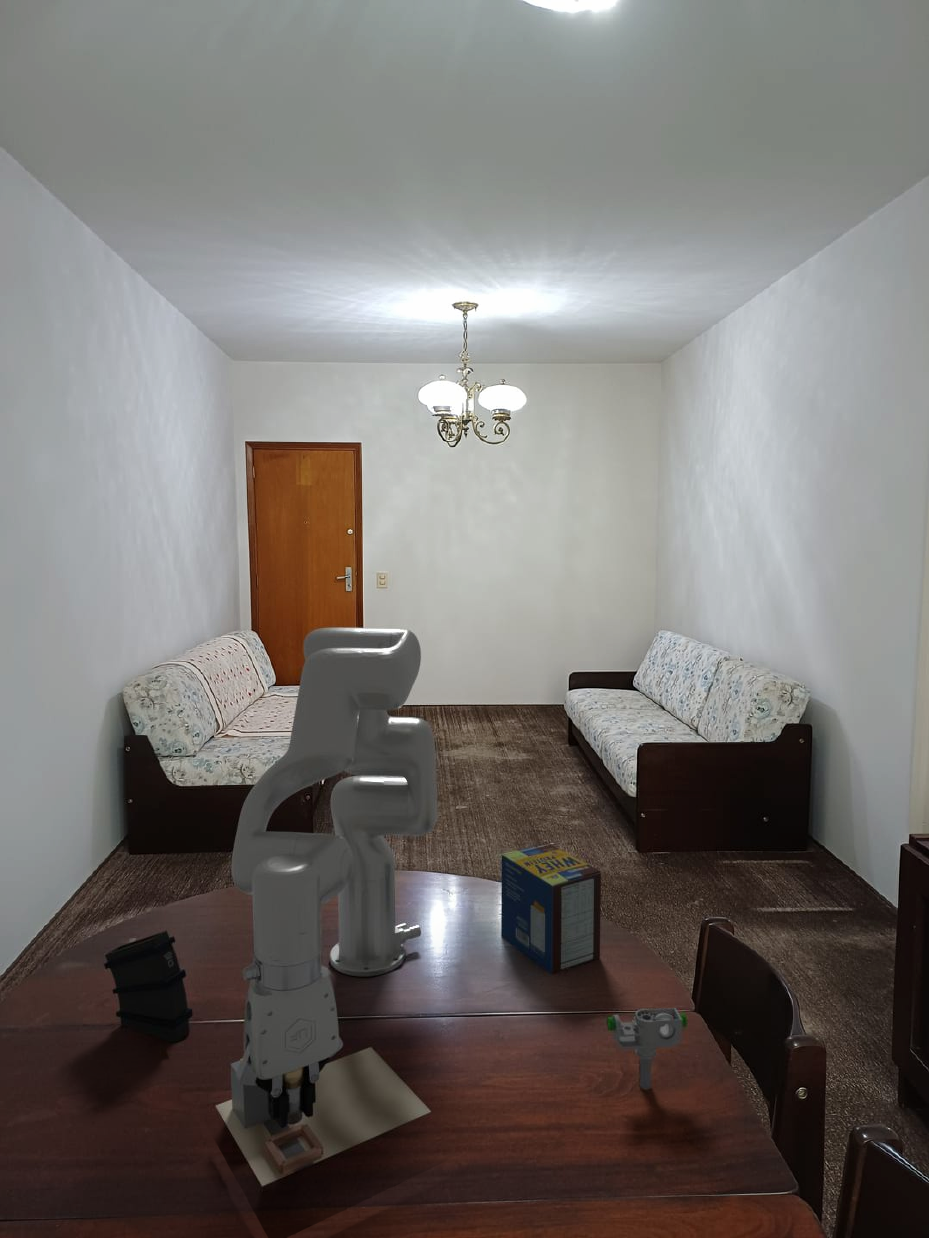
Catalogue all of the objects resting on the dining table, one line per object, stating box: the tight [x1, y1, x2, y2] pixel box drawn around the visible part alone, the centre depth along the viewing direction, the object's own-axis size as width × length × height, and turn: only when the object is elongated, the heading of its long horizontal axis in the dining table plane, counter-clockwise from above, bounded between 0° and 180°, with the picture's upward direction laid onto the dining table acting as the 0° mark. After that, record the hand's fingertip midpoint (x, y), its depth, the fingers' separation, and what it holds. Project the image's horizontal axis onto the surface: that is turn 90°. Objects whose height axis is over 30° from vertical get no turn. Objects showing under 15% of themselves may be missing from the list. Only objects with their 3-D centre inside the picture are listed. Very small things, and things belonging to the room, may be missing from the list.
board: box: [215, 1046, 432, 1187], centre depth 112 cm, size 22×16×2 cm
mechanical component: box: [606, 1007, 688, 1091], centre depth 117 cm, size 3×10×10 cm, turn 95°
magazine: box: [103, 930, 193, 1044], centre depth 130 cm, size 4×13×15 cm, turn 64°
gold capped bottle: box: [282, 1067, 304, 1125], centre depth 103 cm, size 3×3×7 cm
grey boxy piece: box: [230, 1058, 271, 1129], centre depth 111 cm, size 7×4×7 cm, turn 123°
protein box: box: [500, 842, 602, 975], centre depth 154 cm, size 10×15×16 cm
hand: (292, 1114), depth 103 cm, fingers closed on gold capped bottle, 2 cm apart
